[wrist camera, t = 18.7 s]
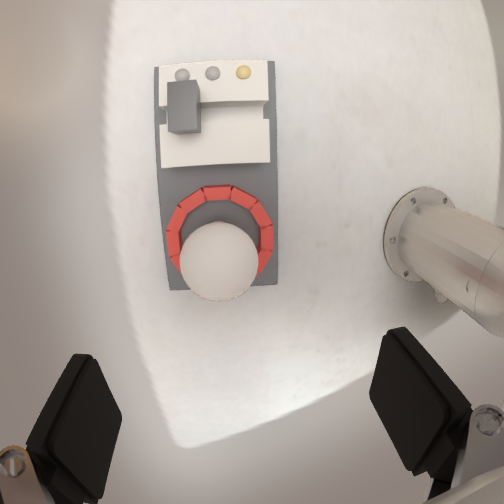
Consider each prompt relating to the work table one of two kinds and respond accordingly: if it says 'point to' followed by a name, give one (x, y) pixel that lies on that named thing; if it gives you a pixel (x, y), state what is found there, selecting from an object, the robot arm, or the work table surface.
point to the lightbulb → (218, 261)
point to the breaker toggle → (183, 107)
